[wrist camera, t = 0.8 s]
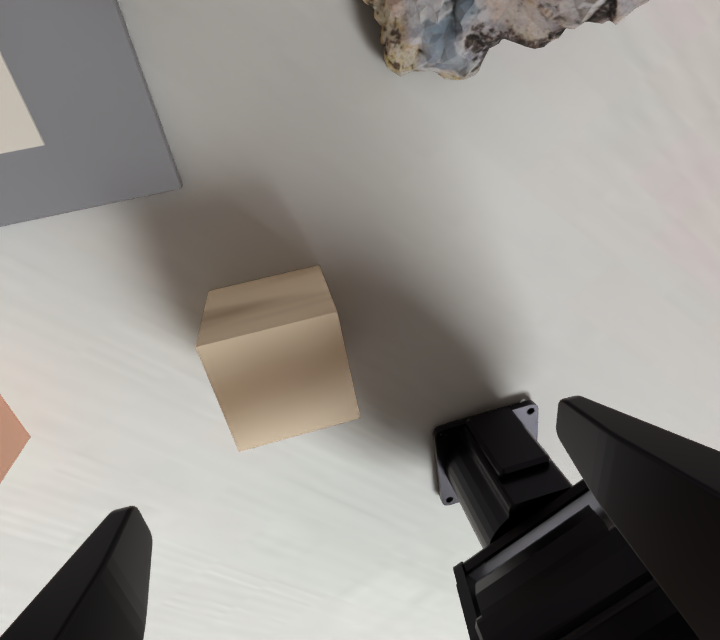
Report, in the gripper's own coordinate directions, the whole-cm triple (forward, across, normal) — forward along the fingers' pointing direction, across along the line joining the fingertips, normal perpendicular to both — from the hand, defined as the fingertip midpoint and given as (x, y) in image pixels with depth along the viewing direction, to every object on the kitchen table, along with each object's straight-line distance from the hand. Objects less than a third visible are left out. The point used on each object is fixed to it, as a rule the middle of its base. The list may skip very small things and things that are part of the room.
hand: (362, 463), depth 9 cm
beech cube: (+12, +2, +2) cm, 13 cm away
